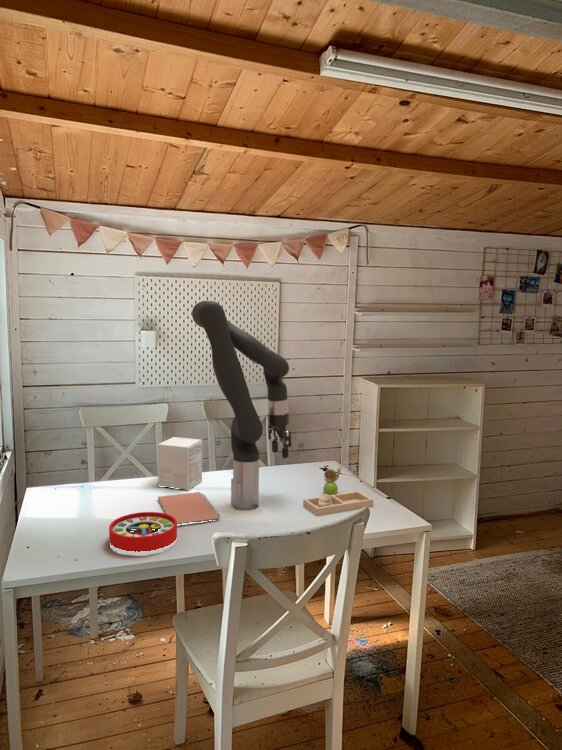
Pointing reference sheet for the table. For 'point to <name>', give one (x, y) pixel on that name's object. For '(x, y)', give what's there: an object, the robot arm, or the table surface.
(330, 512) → the divided tray
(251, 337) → the robot arm
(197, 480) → the supplement box
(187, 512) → the notebook
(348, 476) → the table surface
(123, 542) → the toy clock
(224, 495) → the table surface
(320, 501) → the beige domed knob
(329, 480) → the snail figurine
